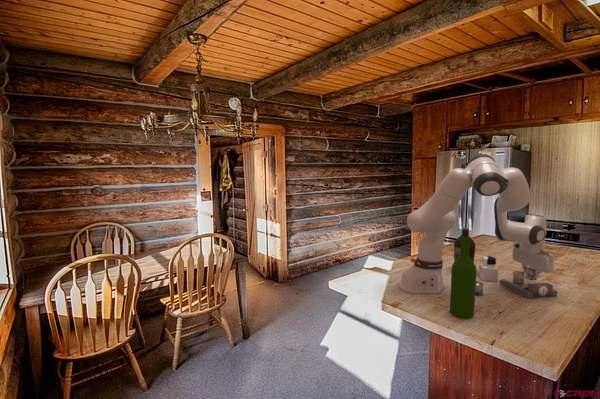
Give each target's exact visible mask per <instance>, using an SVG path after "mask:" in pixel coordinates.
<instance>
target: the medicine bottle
mask: <svg viewBox="0 0 600 399" xmlns="http://www.w3.org/2000/svg"><path fill="white" fill-rule="evenodd" d="M496 263H497V259H496V258H495V257H494V256H491V255H484V256H482V263H479V267H478V268H479V269H478V276H479V278H480V279H481V280H482V282H483V281H484V282H496V283H498V282H499V281H498V280H499V268H498V267H497V266H496V265H497V264H496Z"/></svg>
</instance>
